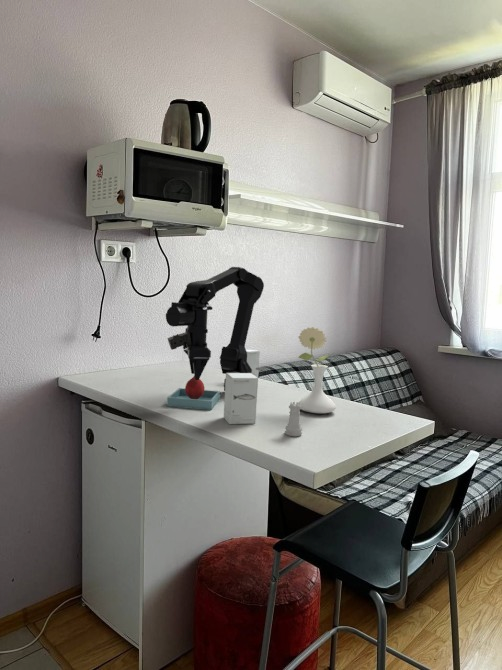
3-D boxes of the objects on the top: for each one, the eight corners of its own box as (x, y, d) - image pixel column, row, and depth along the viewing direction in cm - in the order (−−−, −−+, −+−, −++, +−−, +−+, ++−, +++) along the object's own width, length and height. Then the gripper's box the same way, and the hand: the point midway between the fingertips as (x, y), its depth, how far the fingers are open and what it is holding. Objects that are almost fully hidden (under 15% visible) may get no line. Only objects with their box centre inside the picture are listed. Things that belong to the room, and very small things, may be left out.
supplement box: (229, 425, 138) (231, 377, 137) (223, 417, 145) (225, 372, 144) (256, 424, 140) (258, 377, 139) (248, 416, 147) (251, 372, 146)
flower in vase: (341, 411, 159) (347, 328, 156) (326, 419, 149) (333, 331, 146) (302, 403, 165) (307, 324, 162) (285, 410, 155) (290, 326, 153)
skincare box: (245, 384, 189) (247, 351, 187) (238, 382, 192) (239, 349, 191) (258, 383, 193) (260, 350, 191) (251, 381, 196) (252, 348, 195)
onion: (200, 404, 156) (201, 377, 155) (182, 402, 157) (183, 375, 156) (206, 399, 162) (207, 373, 161) (188, 397, 163) (189, 372, 162)
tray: (219, 399, 165) (220, 391, 165) (211, 409, 152) (211, 401, 152) (178, 396, 167) (179, 388, 166) (167, 406, 154) (167, 397, 153)
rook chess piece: (301, 431, 135) (303, 401, 134) (303, 437, 131) (305, 405, 130) (283, 431, 135) (285, 400, 134) (285, 436, 131) (287, 405, 130)
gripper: (167, 321, 164) (165, 370, 165) (172, 327, 146) (170, 383, 147) (203, 322, 166) (201, 370, 168) (212, 328, 148) (209, 383, 150)
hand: (195, 376), depth 158 cm, fingers open, 9 cm apart
